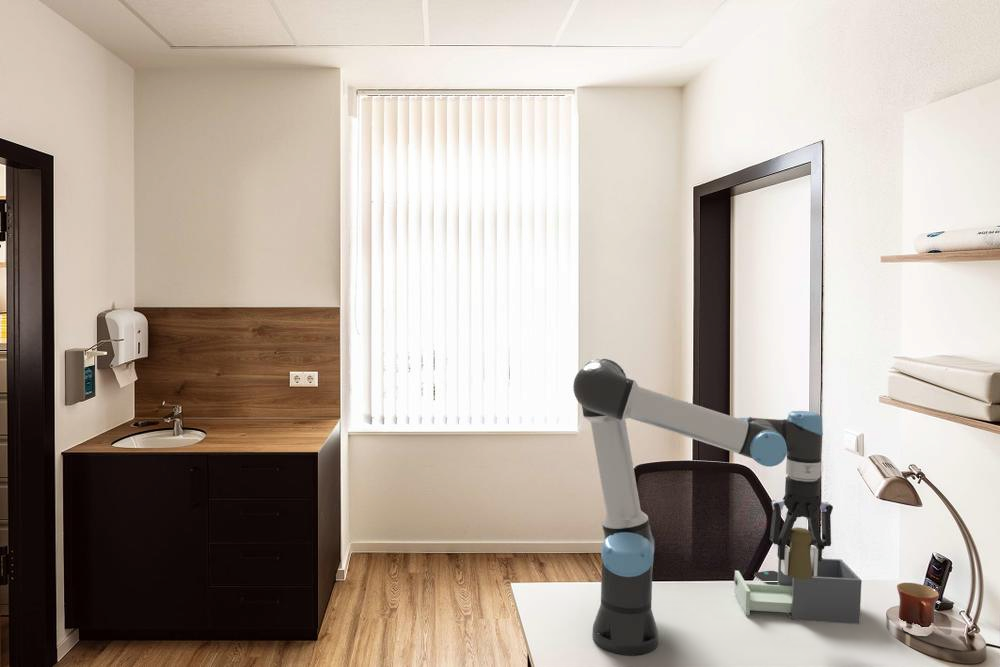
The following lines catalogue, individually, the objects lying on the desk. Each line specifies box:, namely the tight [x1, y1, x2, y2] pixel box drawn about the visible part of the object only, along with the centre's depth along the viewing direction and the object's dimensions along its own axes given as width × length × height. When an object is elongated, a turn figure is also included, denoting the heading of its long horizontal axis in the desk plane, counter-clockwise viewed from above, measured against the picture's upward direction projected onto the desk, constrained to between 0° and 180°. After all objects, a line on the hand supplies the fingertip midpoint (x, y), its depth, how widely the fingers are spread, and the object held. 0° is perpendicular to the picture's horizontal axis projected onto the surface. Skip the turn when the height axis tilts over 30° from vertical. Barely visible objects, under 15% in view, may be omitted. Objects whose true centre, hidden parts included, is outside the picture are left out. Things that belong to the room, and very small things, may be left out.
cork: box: [788, 527, 813, 580], centre depth 169 cm, size 6×6×11 cm
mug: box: [896, 582, 940, 627], centre depth 170 cm, size 12×9×10 cm
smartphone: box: [753, 570, 778, 585], centre depth 199 cm, size 8×1×15 cm
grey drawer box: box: [777, 557, 862, 625], centre depth 183 cm, size 16×14×11 cm
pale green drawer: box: [733, 570, 792, 616], centre depth 184 cm, size 15×13×6 cm
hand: (798, 573), depth 169 cm, fingers closed on cork, 6 cm apart
